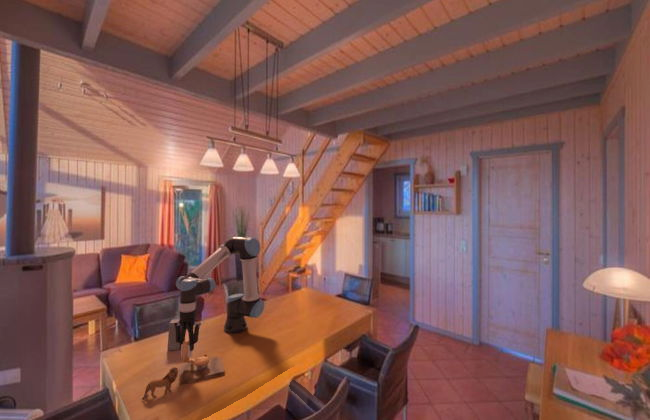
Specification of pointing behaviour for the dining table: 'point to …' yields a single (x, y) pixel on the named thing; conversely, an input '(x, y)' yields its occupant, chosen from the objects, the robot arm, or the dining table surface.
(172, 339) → the skincare box
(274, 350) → the dining table surface
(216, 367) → the board
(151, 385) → the lion figurine
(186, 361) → the tan piece
